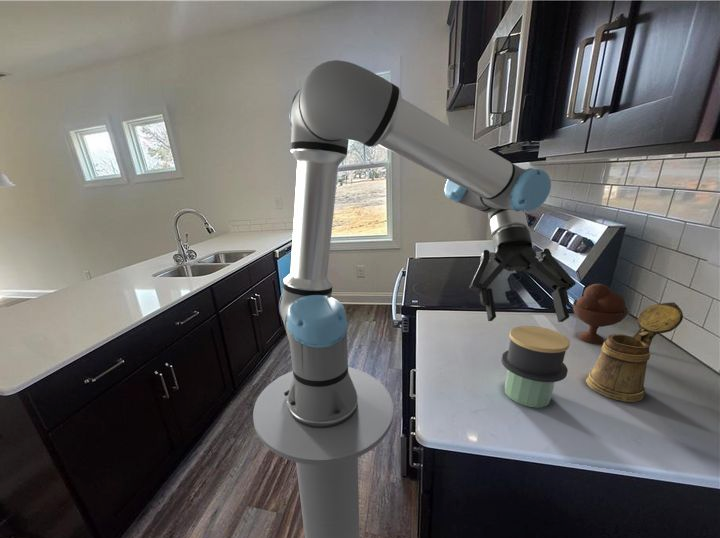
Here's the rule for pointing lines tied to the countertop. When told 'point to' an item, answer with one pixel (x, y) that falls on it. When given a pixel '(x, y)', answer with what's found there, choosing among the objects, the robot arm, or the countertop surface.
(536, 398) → the cup
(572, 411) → the countertop surface
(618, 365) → the wooden mug
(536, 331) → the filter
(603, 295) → the ice cream bowl
